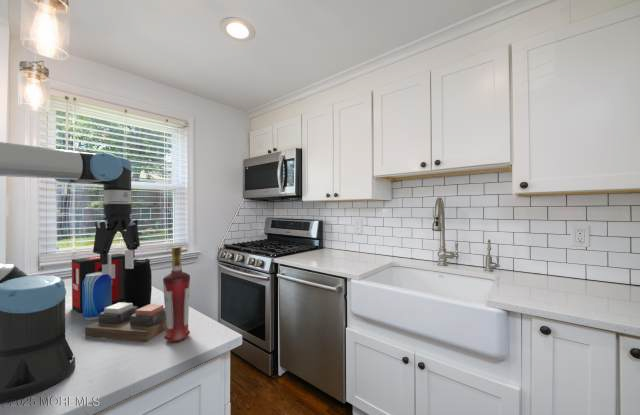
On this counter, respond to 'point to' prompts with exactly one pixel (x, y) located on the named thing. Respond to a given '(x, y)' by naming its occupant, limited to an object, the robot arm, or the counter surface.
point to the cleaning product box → (92, 266)
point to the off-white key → (118, 308)
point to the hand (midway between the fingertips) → (118, 271)
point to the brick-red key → (149, 310)
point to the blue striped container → (96, 294)
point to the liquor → (176, 300)
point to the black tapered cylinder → (138, 283)
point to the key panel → (127, 326)
